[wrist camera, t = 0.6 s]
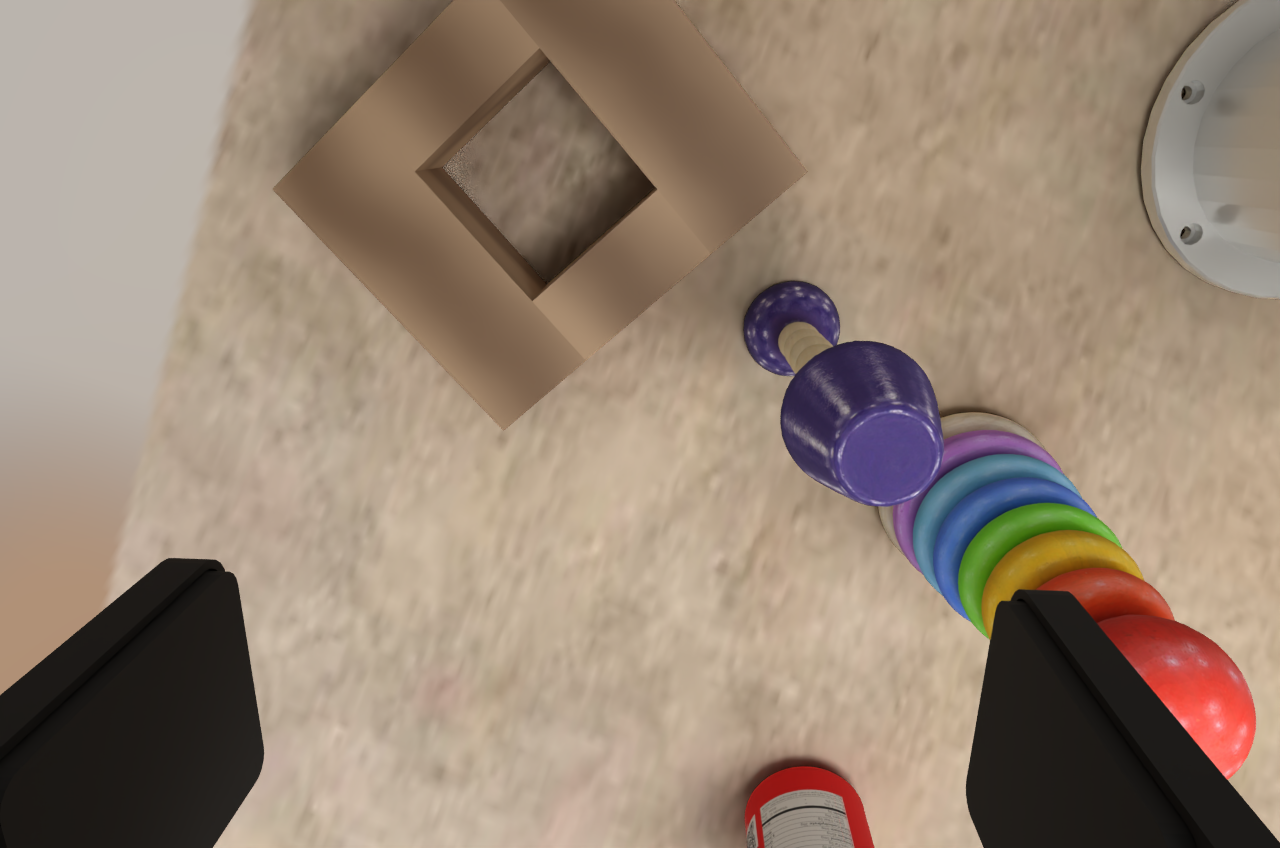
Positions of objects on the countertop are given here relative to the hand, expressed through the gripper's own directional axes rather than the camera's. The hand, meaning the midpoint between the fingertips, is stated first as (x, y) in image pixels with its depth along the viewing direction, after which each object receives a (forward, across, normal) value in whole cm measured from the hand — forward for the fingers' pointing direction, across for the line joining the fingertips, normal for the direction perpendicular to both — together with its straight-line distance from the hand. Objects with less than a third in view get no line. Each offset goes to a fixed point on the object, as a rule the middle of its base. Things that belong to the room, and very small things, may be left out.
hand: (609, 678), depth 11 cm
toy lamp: (+29, -6, +2) cm, 30 cm away
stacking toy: (+29, -14, +9) cm, 34 cm away
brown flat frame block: (+29, +5, -4) cm, 30 cm away
